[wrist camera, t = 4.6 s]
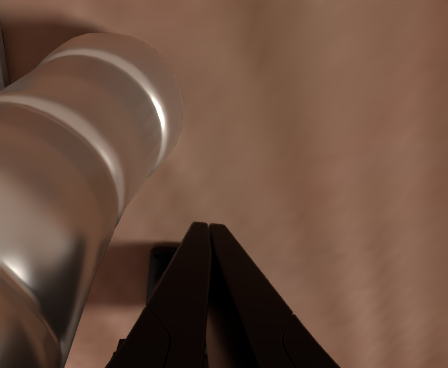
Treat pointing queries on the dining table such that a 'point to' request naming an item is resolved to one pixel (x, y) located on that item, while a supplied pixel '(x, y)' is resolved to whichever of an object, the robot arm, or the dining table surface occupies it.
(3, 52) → the bottle rest
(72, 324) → the plastic bottle
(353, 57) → the dining table surface
